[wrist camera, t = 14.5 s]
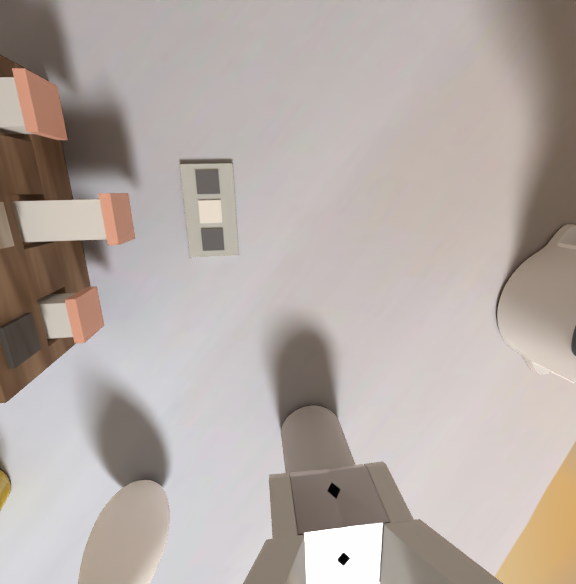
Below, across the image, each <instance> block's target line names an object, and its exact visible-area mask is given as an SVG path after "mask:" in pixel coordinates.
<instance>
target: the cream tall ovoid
mask: <svg viewBox="0 0 576 584" xmlns="http://www.w3.org/2000/svg"><path fill="white" fill-rule="evenodd" d="M169 522H170V511H169V503H168V499H167V496H166V493H165V491H164V489H163V488H162V486H160V485H159V484H158V483H156V482H154V481H151V480H140V481H135V482H132V483H130V484H128V485H126V486H125V487H124V488H122V489H121V490H120V491H118V492H117V493H116V494H115V495H114V496H113V497H112V498H111V499H110V501H109V502H108V503H107V504H106V506H105V507H104V508H103V510H102V511H101V513H100V515H99V516H98V518H97V520H96V522H95V524H94V526H93V529H92V531H91V533H90V536H89V538H88V541H87V544H86V547H85V550H84V554H83V558H82V562H81V567H80V573H79V580H78V584H149V583H150V581H151V579H152V577H153V575H154V573H155V571H156V569H157V567H158V565H159V562H160V560H161V557H162V554H163V551H164V548H165V544H166V540H167V535H168V530H169Z"/></svg>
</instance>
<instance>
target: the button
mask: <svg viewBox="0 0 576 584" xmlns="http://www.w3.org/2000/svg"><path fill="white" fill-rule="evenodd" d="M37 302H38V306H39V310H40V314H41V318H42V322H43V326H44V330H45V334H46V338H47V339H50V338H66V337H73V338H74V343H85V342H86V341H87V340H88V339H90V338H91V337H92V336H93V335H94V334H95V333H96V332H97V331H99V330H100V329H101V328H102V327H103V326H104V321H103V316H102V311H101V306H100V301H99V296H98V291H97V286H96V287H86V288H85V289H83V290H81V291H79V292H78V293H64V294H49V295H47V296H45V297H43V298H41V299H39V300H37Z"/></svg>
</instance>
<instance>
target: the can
mask: <svg viewBox="0 0 576 584" xmlns="http://www.w3.org/2000/svg"><path fill="white" fill-rule="evenodd" d="M281 437H282V446H283V454H284V463H285V471H286V473H289V472H300V471H312V470H323V469H328V468H336V467H344V466H352V465H355V462H354V460H353V457H352V454H351V452H350V449H349V446H348V444H347V441H346V439H345V436H344V433H343V431H342V428H341V425H340V423H339V421H338V419H337V417H336V415H335V414H334V413H333V412H332V411H330V410H329V409H327V408H324V407H322V406H313V405H312V406H306V407H302V408H300V409H298V410H296V411H294V412H293V413H292V414H290V415H289V416H288V417H287V418H286V420H285V422H284V423H283V425H282V430H281Z"/></svg>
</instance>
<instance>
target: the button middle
mask: <svg viewBox="0 0 576 584" xmlns="http://www.w3.org/2000/svg"><path fill="white" fill-rule="evenodd" d="M12 203H13V207H14V211H15V215H16V219H17V223H18V227H19V231H20V235H21V239H22V242H45V241H73V240H101V239H107V243H108V245H119V244H122V243H124V242H127V241H130V240H132V239H135V233H134V227H133V221H132V214H131V208H130V201H129V195H128V193H107V194H99V199H83V200H43V201H12Z"/></svg>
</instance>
